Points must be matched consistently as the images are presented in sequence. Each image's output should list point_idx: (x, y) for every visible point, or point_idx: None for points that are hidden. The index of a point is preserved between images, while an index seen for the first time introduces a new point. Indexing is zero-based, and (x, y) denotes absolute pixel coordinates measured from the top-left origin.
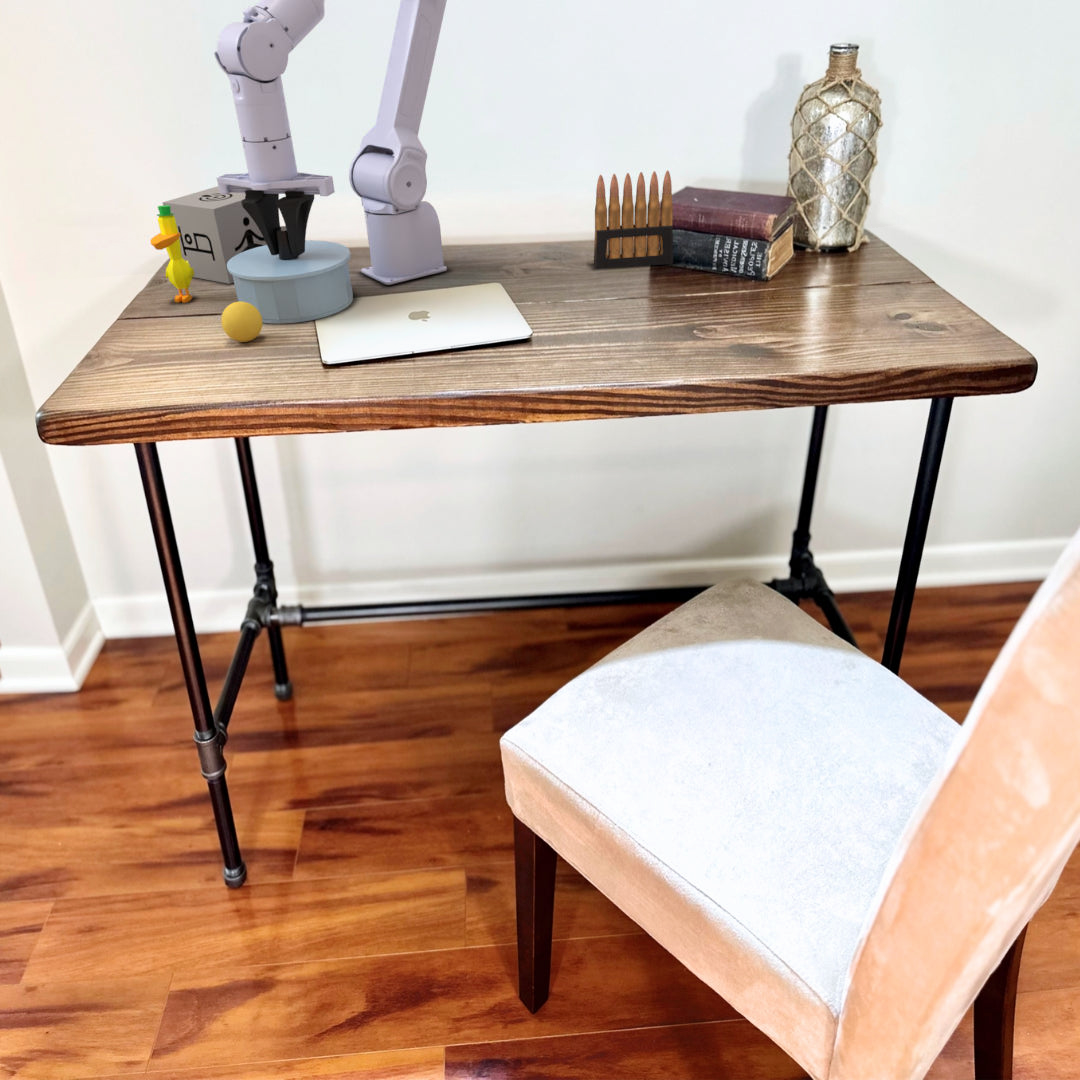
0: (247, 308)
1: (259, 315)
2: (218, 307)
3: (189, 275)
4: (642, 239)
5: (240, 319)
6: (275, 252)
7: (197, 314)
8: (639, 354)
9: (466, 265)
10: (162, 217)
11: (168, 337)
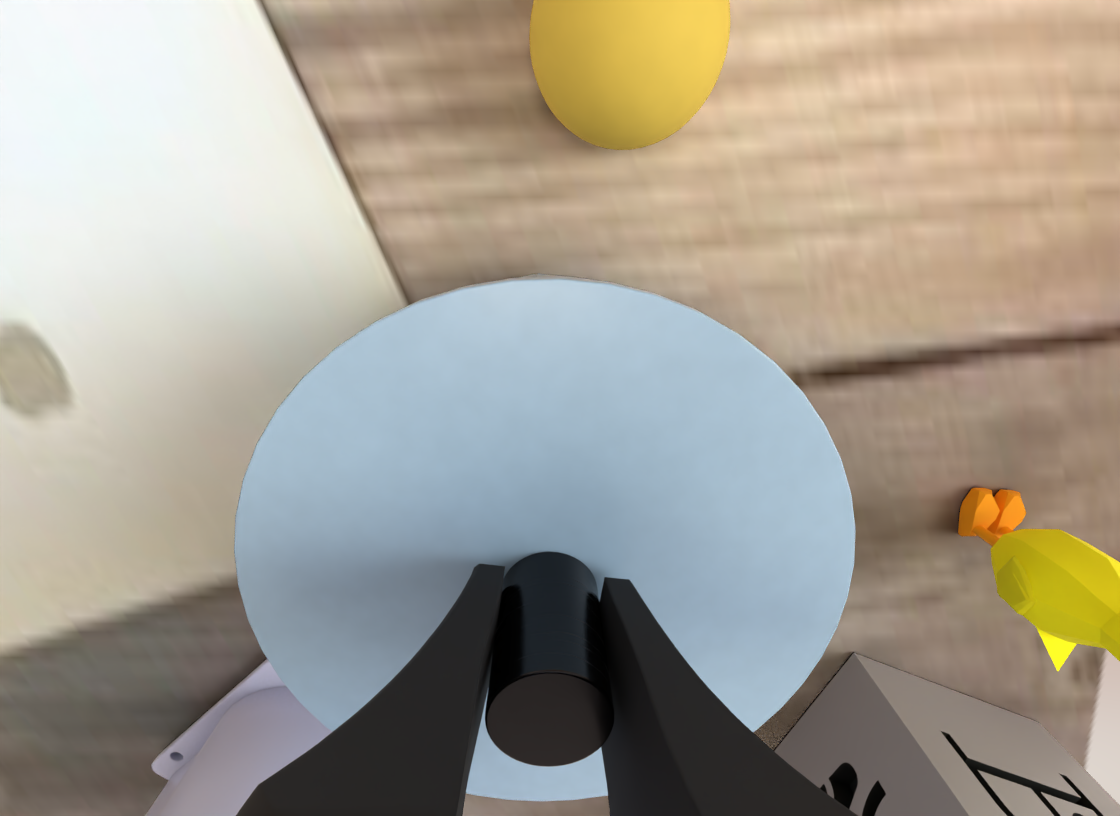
0: None
1: (533, 44)
2: (838, 446)
3: (1015, 567)
4: None
5: None
6: (605, 586)
7: (902, 375)
8: None
9: (129, 801)
10: None
11: (968, 108)
